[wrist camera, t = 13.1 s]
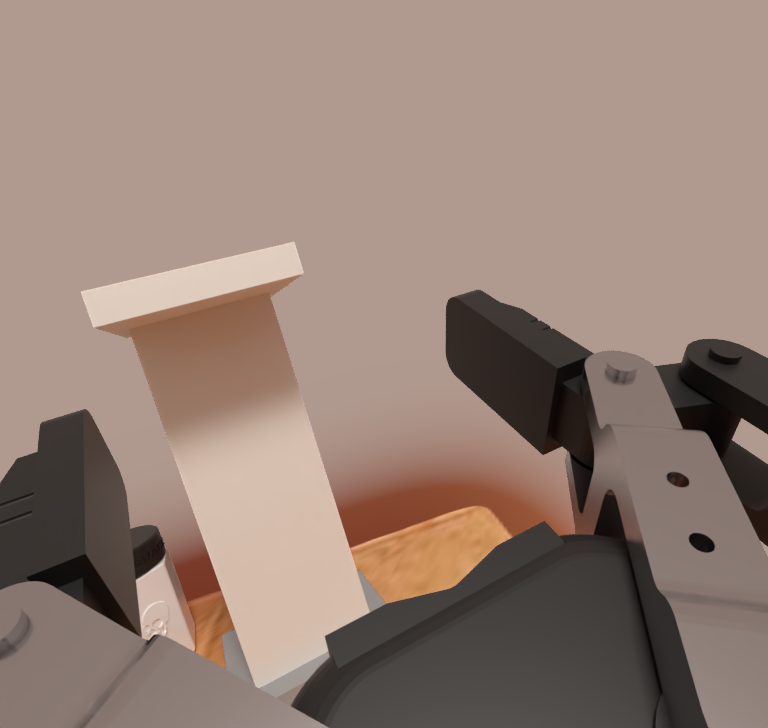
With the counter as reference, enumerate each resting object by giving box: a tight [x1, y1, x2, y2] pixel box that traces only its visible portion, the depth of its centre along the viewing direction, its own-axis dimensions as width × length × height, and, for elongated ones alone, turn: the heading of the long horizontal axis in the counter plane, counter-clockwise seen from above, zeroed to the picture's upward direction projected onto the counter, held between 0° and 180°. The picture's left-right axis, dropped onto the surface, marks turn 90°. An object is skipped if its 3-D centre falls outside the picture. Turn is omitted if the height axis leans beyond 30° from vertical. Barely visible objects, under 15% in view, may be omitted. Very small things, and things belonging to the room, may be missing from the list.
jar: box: [130, 525, 196, 651], centre depth 49 cm, size 9×8×12 cm
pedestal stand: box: [81, 242, 386, 706], centre depth 39 cm, size 18×14×32 cm
